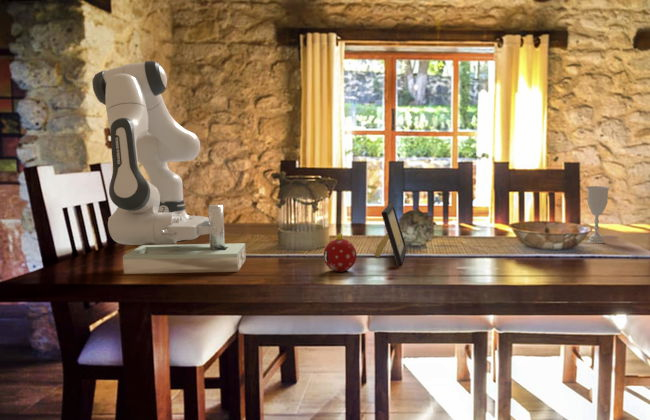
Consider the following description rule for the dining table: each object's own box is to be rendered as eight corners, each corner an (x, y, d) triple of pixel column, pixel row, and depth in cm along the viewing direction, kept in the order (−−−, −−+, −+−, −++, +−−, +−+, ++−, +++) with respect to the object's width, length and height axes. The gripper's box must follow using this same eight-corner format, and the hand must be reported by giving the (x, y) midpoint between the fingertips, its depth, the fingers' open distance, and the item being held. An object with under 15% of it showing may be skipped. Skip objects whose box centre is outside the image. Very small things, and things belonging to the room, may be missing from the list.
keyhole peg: (206, 260, 158) (204, 204, 156) (234, 259, 158) (232, 203, 156) (200, 266, 150) (198, 207, 148) (230, 265, 150) (228, 206, 149)
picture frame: (402, 265, 150) (395, 210, 149) (369, 268, 152) (362, 214, 151) (406, 249, 173) (401, 202, 172) (378, 252, 175) (372, 205, 174)
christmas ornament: (362, 272, 143) (362, 234, 142) (333, 276, 139) (332, 237, 138) (346, 266, 150) (346, 230, 149) (318, 270, 147) (317, 232, 145)
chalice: (612, 243, 177) (614, 187, 175) (590, 244, 178) (592, 188, 176) (601, 240, 185) (603, 186, 183) (580, 240, 185) (582, 186, 183)
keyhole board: (143, 261, 162) (142, 245, 161) (245, 259, 162) (245, 243, 162) (123, 273, 146) (122, 255, 146) (237, 271, 146) (237, 253, 146)
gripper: (157, 221, 142) (211, 220, 142) (177, 212, 163) (224, 211, 163) (158, 246, 143) (212, 245, 143) (178, 233, 163) (225, 233, 163)
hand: (219, 227), depth 153 cm, fingers open, 8 cm apart
